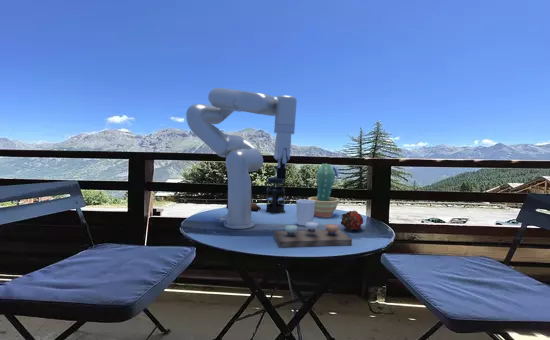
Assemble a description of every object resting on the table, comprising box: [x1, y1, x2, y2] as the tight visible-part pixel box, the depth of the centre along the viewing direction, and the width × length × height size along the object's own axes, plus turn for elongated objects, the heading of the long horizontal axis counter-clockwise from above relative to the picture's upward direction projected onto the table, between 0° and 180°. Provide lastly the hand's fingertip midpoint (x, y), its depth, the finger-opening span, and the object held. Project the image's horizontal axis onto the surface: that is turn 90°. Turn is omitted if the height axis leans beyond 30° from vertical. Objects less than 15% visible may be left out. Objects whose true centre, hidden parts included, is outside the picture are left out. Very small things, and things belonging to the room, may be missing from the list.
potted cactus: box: [307, 163, 341, 218], centre depth 157 cm, size 15×15×25 cm
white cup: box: [295, 199, 315, 227], centre depth 140 cm, size 8×8×10 cm
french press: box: [265, 165, 286, 214], centre depth 163 cm, size 12×9×23 cm
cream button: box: [304, 221, 319, 233], centre depth 116 cm, size 4×4×3 cm
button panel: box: [273, 228, 353, 248], centre depth 116 cm, size 25×13×2 cm, turn 99°
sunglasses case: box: [225, 201, 262, 212], centre depth 171 cm, size 18×7×7 cm
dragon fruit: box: [340, 210, 364, 232], centre depth 132 cm, size 8×8×12 cm
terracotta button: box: [325, 223, 339, 235], centre depth 117 cm, size 4×4×3 cm
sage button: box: [284, 224, 298, 236], centre depth 115 cm, size 4×4×3 cm
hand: (280, 178), depth 123 cm, fingers closed
